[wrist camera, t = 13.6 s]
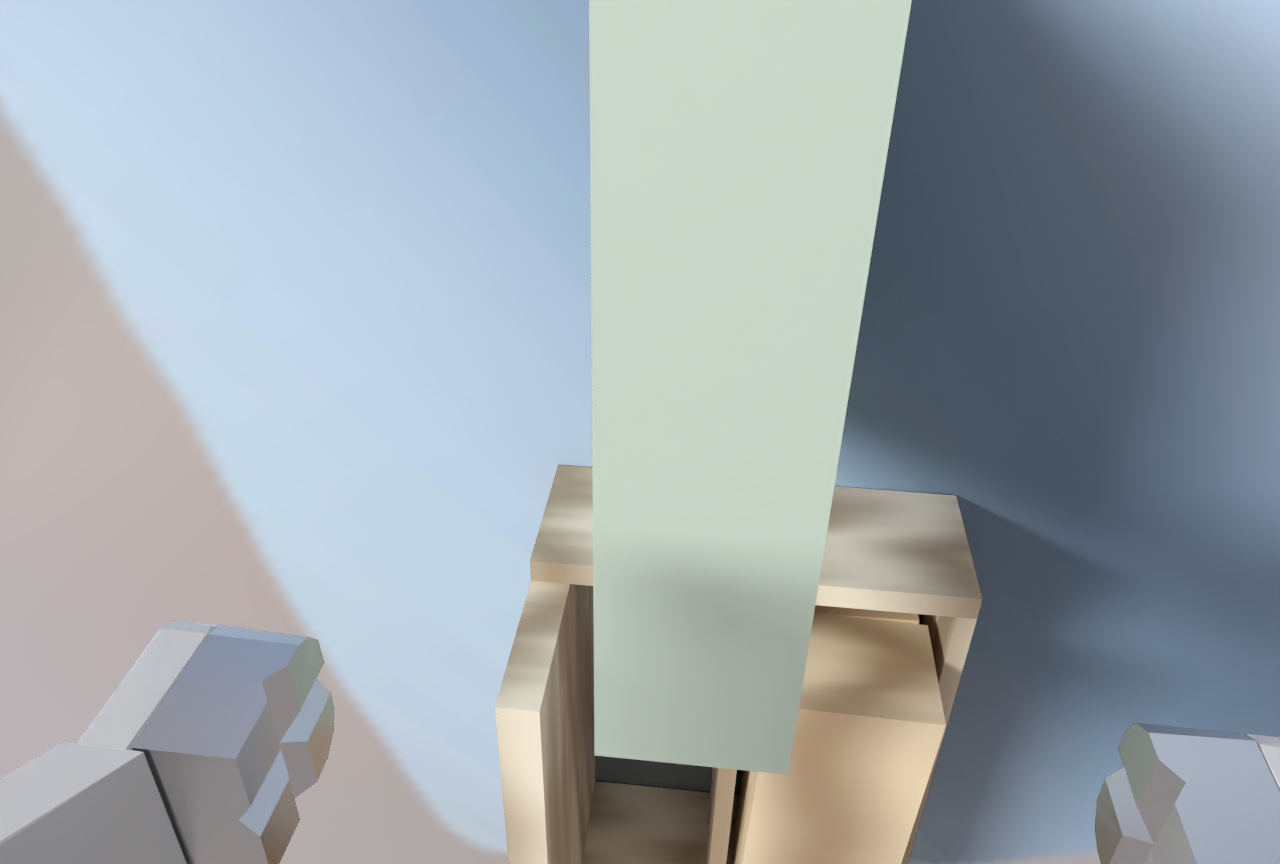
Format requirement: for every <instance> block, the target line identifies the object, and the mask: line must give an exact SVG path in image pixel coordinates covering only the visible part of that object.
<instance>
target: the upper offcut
mask: <svg viewBox="0 0 1280 864" xmlns="http://www.w3.org/2000/svg"><path fill="white" fill-rule="evenodd" d="M945 727H946V722H945V717H944V711H943V706H942V700H941V695H940V689H939V684H938V678H937V673H936V667H935V662H934V656H933V651H932V645H931V640H930V634H929V629H928V625H920V624H911V623H902V622H893V621H883V620H874V619H865V618H855V617H846V616H837V615H827V614H818V613H814V617H813V623H812V630H811V636H810V642H809V649H808V655H807V661H806V667H805V674H804V680H803V686H802V693H801V699H800V705H799V711H798V718H797V724H796V730H795V736H794V743H793V749H792V755H791V762H790V768H789V774H788V775H785V774H775V773H765V772H755V771H745V770H744V771H743V777H742V783H741V790H740V796H739V802H738V808H737V814H736V820H735V827H734V833H733V839H732V845H731V856H730V864H901V863H902V860H903V856H904V853H905V850H906V847H907V844H908V841H909V838H910V835H911V832H912V829H913V826H914V823H915V820H916V816H917V813H918V810H919V807H920V804H921V801H922V798H923V795H924V792H925V789H926V786H927V783H928V780H929V776H930V773H931V770H932V767H933V764H934V761H935V758H936V755H937V752H938V749H939V746H940V743H941V740H942V736H943V733H944V730H945Z"/></svg>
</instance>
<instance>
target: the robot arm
mask: <svg viewBox="0 0 1280 864" xmlns="http://www.w3.org/2000/svg"><path fill="white" fill-rule="evenodd" d="M323 664H324V660H323V656H322V652H321V649H320V645H319V641H318V640H317V639H314V638H310V637H305V636H298V635H290V634H283V633H274V632H267V631H259V630H252V629H245V628H237V627H230V626H221V625H219V626H218V625H210V624H202V623H194V622H185V621H178V620H174V621H172V622H171V623H169V624H167V625H166V626H164V627H163V628H161V629H160V630H159V631H158V632H157V633H156V635H155V636H154V638H153V639H152V641H151V642H150V643H149V645H148V646H147V647H146V649H145V650H144V652H143V653H142V654H141V656H140V657H139V658H138V660H137V661H136V662H135V664H134V665H133V667H132V668H131V669H130V671H129V672H128V674H127V675H126V676H125V678H124V679H123V681H122V682H121V683H120V684H119V686H118V687H117V689H116V690H115V691H114V693H113V695H112V696H111V697H110V698H109V700H108V701H107V703H106V704H105V705H104V707H103V708H102V709H101V711H100V712H99V713H98V715H97V716H96V718H95V719H94V720H93V722H92V723H91V724H90V726H89V727H88V729H87V730H86V731H85V733H84V734H83V736H82V737H81V738H80V740H79V741H78V742H77V743H66V742H62V743H60V744H59V745H57V746H55V747H54V748H52V749H50V750H48V751H47V752H45V753H43V754H42V755H40V756H38V757H36V758H35V759H34V760H31V761H30V762H28V763H26V764H25V765H23V766H21V767H20V768H18V769H16V770H14V771H13V772H11V773H9V774H8V775H6V776H4V777H3V778H1V779H0V864H279V863H280V861H281V859H282V857H283V855H284V852H285V850H286V848H287V846H288V844H289V842H290V840H291V837H292V835H293V833H294V831H295V829H296V827H297V825H298V822H299V820H300V818H299V814H298V810H297V806H296V803H295V799H294V798H296V797H297V796H298V795H300V794H301V793H302V792H304V791H305V790H307V789H308V788H309V787H311V786H312V785H313V784H315V783H316V782H317V781H318V779H319V776H320V774H321V772H322V769H323V767H324V765H325V762H326V760H327V758H328V754H329V750H330V745H331V741H332V736H333V732H334V706H333V701H332V696H331V692H330V691H329V690H328V689H327V688H326V687H325V686H324V685H323V684H322V683H320V682H319V681H318V680H317V679H316V678H317V676H318V674H319V672H320V670H321V668H322V666H323ZM1118 749H1119V752H1120V756H1121V759H1122V762H1123V765H1124V767H1123V768H1122V769H1120V770H1118V771H1116V772H1115V773H1113V774H1111V775H1109V776H1108V777H1106V778H1105V780H1104V783H1103V785H1102V788H1101V791H1100V793H1099V796H1098V799H1097V805H1096V818H1095V834H1096V842H1097V850H1098V854H1099V858H1100V862H1101V864H1280V737H1272V736H1262V735H1252V734H1244V735H1242V734H1240V733H1237V732H1226V731H1216V730H1205V729H1194V728H1184V727H1173V726H1163V725H1152V724H1141V723H1135V724H1134V725H1132V726H1131V727H1130V728H1129V729H1128V730H1126V732H1125V734H1124V736H1123V738H1122V741H1121V743H1120V745H1119V747H1118Z"/></svg>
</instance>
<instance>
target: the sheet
mask: <svg viewBox="0 0 1280 864" xmlns="http://www.w3.org/2000/svg"><path fill="white" fill-rule="evenodd" d="M911 2H912V0H589V35H590V180H591V326H592V471H593V617H594V755H595V756H605V757H615V758H625V759H635V760H645V761H655V762H665V763H675V764H685V765H695V766H705V767H715V768H725V769H735V770H745V771H755V772H765V773H775V774H785V775H788V774H789V768H790V762H791V755H792V749H793V743H794V736H795V730H796V724H797V718H798V711H799V705H800V699H801V693H802V686H803V680H804V674H805V667H806V661H807V655H808V649H809V642H810V636H811V630H812V623H813V617H814V611H815V605H816V598H817V592H818V586H819V580H820V573H821V567H822V561H823V554H824V548H825V542H826V536H827V529H828V523H829V517H830V510H831V504H832V498H833V492H834V485H835V479H836V473H837V467H838V460H839V454H840V448H841V441H842V435H843V429H844V423H845V416H846V410H847V404H848V397H849V391H850V385H851V379H852V372H853V366H854V360H855V354H856V347H857V341H858V335H859V328H860V322H861V316H862V310H863V303H864V297H865V291H866V285H867V278H868V272H869V266H870V259H871V253H872V247H873V241H874V234H875V228H876V222H877V215H878V209H879V203H880V197H881V190H882V184H883V178H884V172H885V165H886V159H887V153H888V146H889V140H890V134H891V128H892V121H893V115H894V109H895V102H896V96H897V90H898V84H899V77H900V71H901V65H902V59H903V52H904V46H905V40H906V33H907V27H908V21H909V15H910V8H911Z"/></svg>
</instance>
